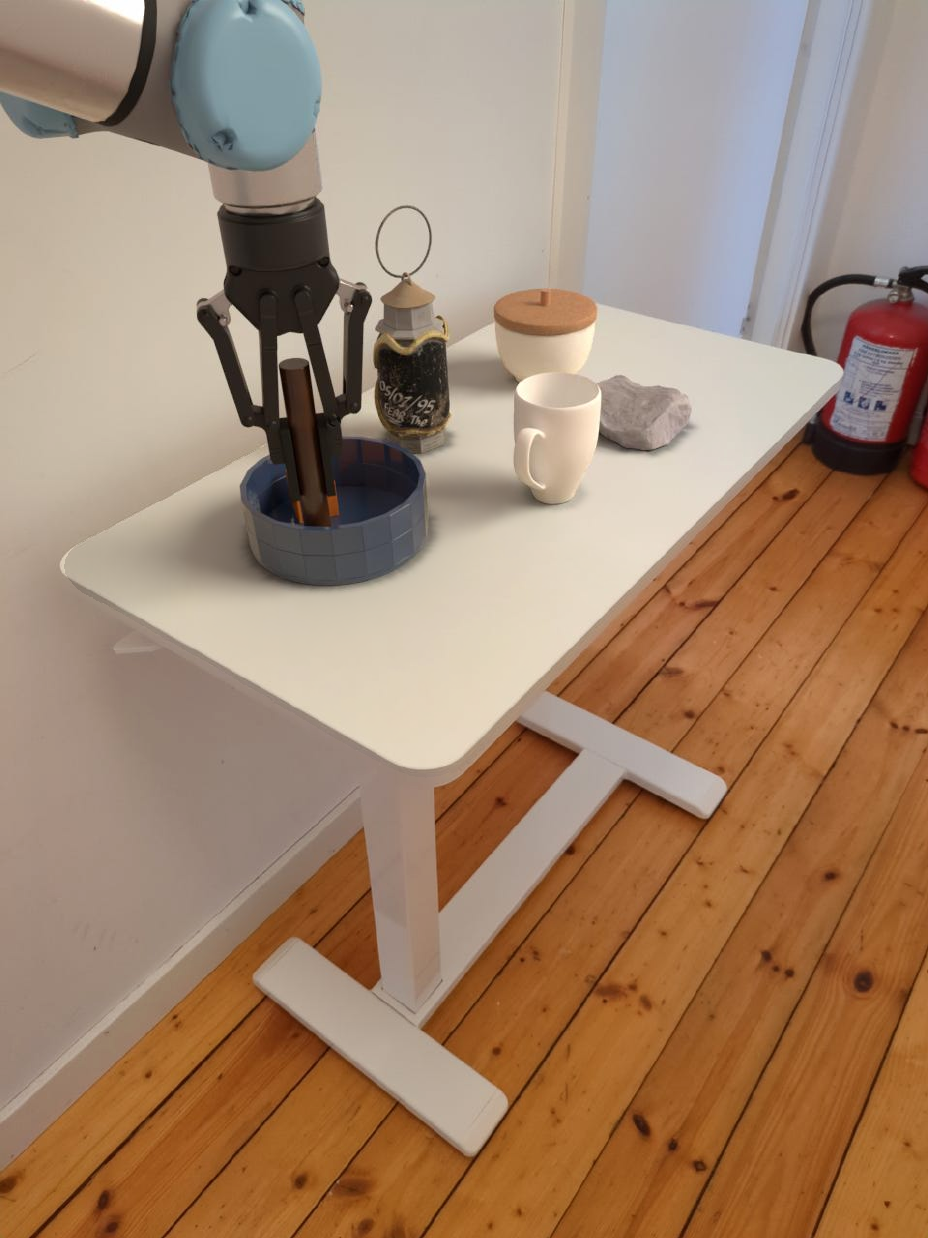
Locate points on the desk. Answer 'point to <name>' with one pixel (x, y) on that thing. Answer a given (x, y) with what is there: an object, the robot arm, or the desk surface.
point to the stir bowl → (341, 516)
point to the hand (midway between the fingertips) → (312, 490)
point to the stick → (305, 440)
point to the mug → (555, 433)
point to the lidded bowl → (544, 331)
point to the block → (331, 503)
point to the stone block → (641, 413)
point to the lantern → (411, 363)
